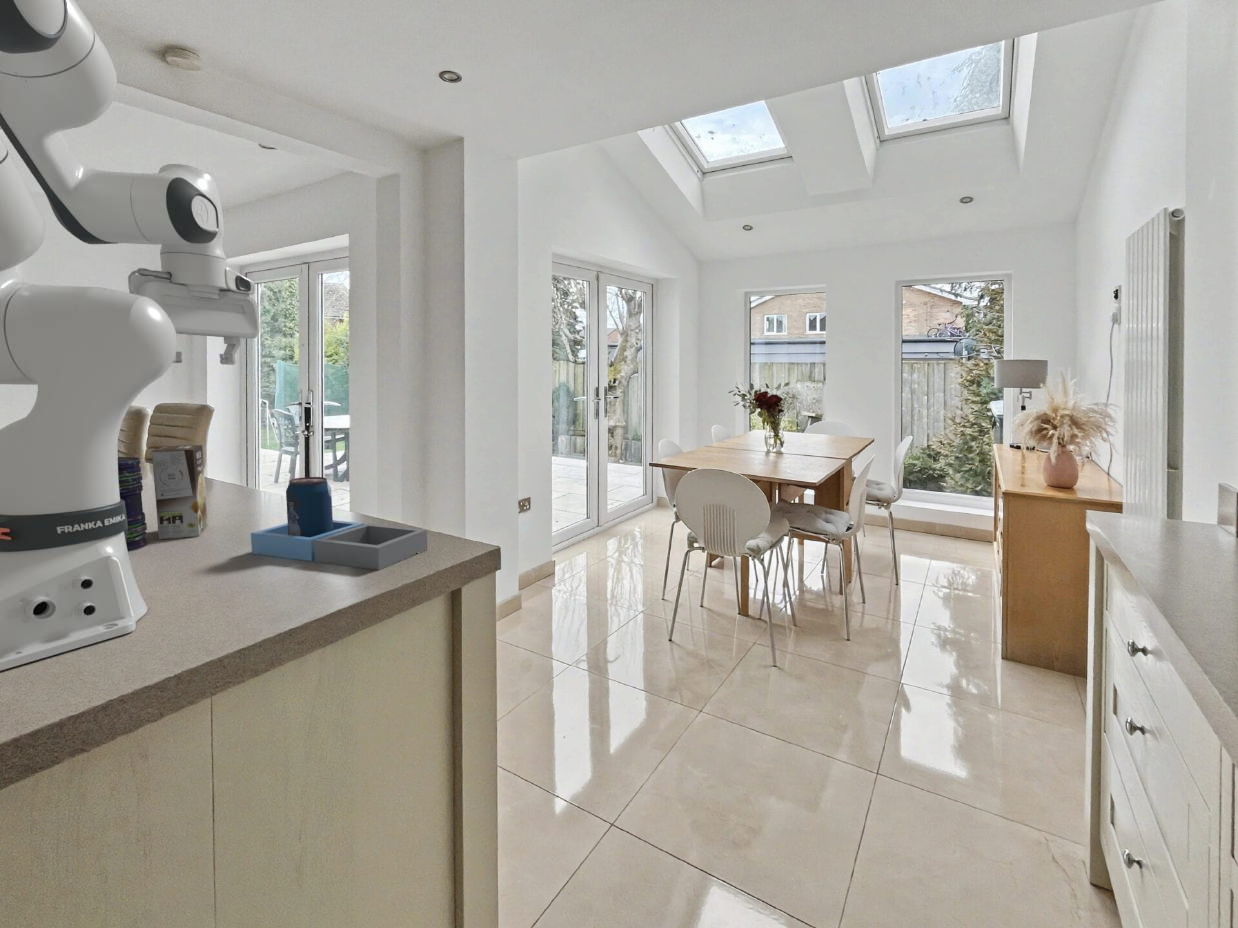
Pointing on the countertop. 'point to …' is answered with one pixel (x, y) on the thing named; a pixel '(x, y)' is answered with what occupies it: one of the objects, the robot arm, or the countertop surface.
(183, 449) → the coffee box
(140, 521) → the storage jar
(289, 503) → the soda can
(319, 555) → the frame
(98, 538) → the robot arm
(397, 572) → the countertop surface
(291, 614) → the countertop surface
